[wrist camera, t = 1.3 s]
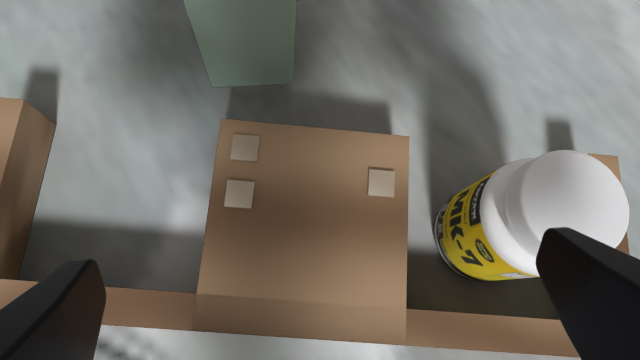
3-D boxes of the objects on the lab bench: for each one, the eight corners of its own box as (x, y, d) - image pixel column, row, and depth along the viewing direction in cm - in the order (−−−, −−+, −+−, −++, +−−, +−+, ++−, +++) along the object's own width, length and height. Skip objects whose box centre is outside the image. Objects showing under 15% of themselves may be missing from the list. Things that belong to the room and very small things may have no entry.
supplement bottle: (425, 195, 24) (498, 140, 16) (509, 189, 24) (621, 132, 16) (439, 286, 23) (526, 277, 15) (527, 278, 23) (658, 265, 15)
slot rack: (595, 354, 22) (645, 362, 19) (-25, 311, 21) (-79, 312, 18) (579, 173, 25) (620, 154, 22) (26, 122, 23) (-13, 94, 20)
